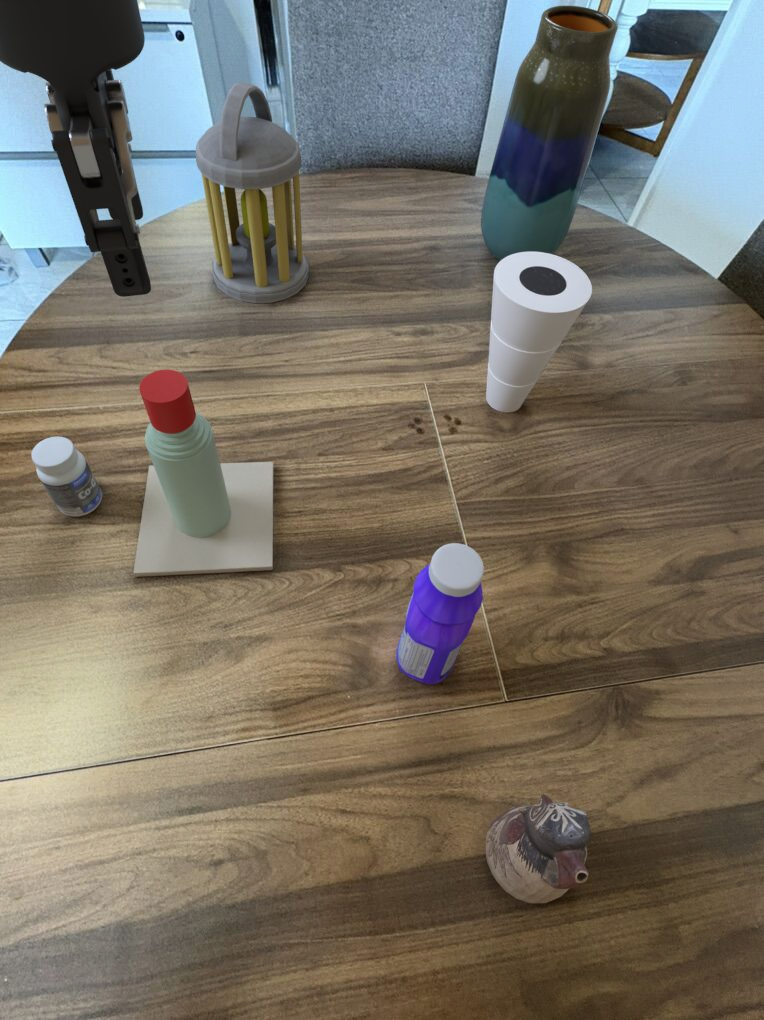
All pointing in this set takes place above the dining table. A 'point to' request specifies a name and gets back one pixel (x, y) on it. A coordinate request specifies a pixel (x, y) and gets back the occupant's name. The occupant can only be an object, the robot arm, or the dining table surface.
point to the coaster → (225, 551)
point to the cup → (529, 321)
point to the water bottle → (191, 477)
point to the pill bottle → (66, 476)
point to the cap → (168, 401)
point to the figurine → (539, 850)
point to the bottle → (440, 613)
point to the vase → (548, 133)
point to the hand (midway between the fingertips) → (131, 252)
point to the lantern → (253, 201)
